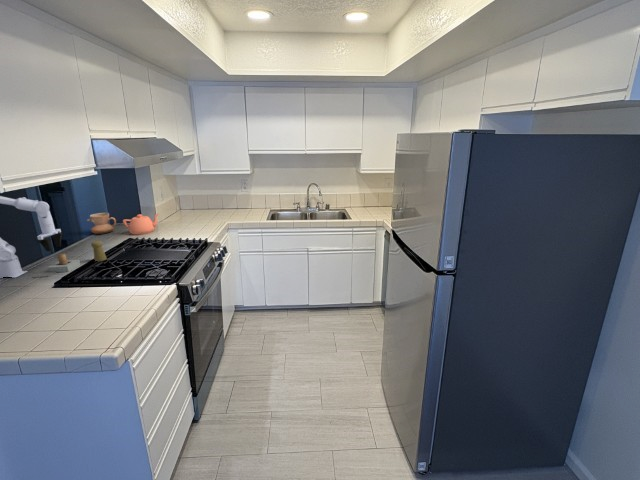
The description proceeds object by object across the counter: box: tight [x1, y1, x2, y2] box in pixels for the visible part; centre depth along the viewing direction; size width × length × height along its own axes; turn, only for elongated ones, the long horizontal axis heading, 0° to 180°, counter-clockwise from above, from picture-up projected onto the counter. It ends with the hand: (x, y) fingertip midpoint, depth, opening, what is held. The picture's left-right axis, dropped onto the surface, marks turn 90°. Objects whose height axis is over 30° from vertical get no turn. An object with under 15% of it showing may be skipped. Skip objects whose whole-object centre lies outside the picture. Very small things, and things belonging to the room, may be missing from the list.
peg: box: [56, 253, 68, 265], centre depth 179 cm, size 4×4×8 cm
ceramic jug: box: [86, 212, 117, 235], centre depth 249 cm, size 18×14×14 cm
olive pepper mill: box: [91, 240, 108, 262], centre depth 191 cm, size 6×6×11 cm
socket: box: [47, 259, 81, 273], centre depth 180 cm, size 10×10×3 cm
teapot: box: [122, 213, 160, 236], centre depth 246 cm, size 25×17×13 cm
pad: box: [32, 270, 58, 279], centre depth 173 cm, size 8×8×1 cm
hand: (53, 248), depth 181 cm, fingers open, 7 cm apart
